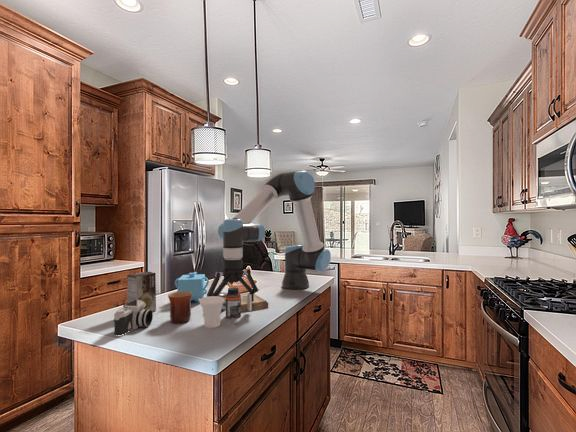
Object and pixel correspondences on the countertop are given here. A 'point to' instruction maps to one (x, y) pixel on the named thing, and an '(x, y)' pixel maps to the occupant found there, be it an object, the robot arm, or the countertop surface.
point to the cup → (211, 310)
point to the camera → (131, 317)
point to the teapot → (193, 285)
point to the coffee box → (142, 289)
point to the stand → (253, 303)
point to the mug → (180, 306)
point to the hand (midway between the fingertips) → (233, 312)
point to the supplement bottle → (233, 303)
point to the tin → (224, 300)
